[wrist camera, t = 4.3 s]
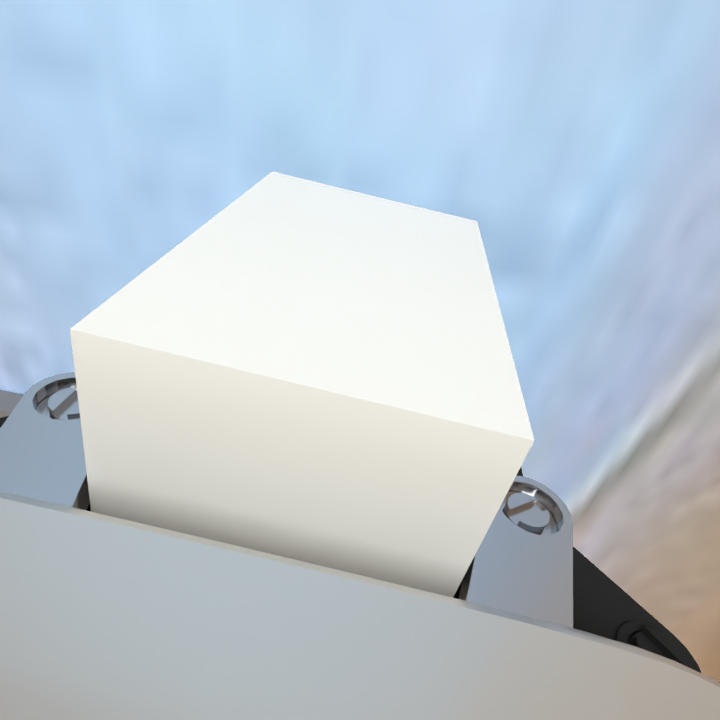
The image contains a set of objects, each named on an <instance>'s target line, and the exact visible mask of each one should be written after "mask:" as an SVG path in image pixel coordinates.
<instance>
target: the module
mask: <svg viewBox="0 0 720 720" xmlns="http://www.w3.org/2000/svg"><path fill="white" fill-rule="evenodd" d="M70 334H71V342H72V351H73V360H74V368H75V377H76V386H77V394H78V403H79V412H80V420H81V429H82V438H83V446H84V455H85V463H86V472H87V481H88V489H89V498H90V507H91V512H95V513H99V514H104V515H108V516H112V517H117V518H121V519H125V520H130V521H134V522H138V523H143V524H147V525H151V526H155V527H160V528H164V529H168V530H173V531H177V532H181V533H185V534H190V535H194V536H198V537H202V538H206V539H211V540H215V541H219V542H223V543H228V544H232V545H236V546H240V547H245V548H249V549H253V550H257V551H261V552H266V553H270V554H274V555H278V556H282V557H287V558H291V559H295V560H299V561H303V562H308V563H312V564H316V565H320V566H324V567H328V568H333V569H337V570H341V571H345V572H349V573H354V574H358V575H362V576H366V577H370V578H374V579H378V580H382V581H386V582H391V583H395V584H399V585H403V586H407V587H411V588H415V589H419V590H423V591H427V592H432V593H436V594H440V595H444V596H448V597H452V598H453V597H454V595H455V593H456V591H457V589H458V587H459V585H460V583H461V581H462V579H463V577H464V575H465V574H466V572H467V570H468V568H469V566H470V564H471V562H472V560H473V558H474V556H475V554H476V552H477V550H478V548H479V547H480V545H481V543H482V541H483V539H484V537H485V535H486V533H487V531H488V529H489V527H490V525H491V523H492V521H493V520H494V518H495V516H496V514H497V512H498V510H499V508H500V506H501V504H502V502H503V500H504V498H505V496H506V494H507V493H508V491H509V489H510V487H511V485H512V483H513V481H514V479H515V477H516V475H517V473H518V471H519V469H520V467H521V466H522V464H523V462H524V460H525V458H526V456H527V454H528V452H529V450H530V448H531V446H532V444H533V442H534V437H533V433H532V430H531V426H530V422H529V418H528V414H527V411H526V407H525V403H524V399H523V395H522V391H521V388H520V384H519V380H518V376H517V372H516V368H515V365H514V361H513V357H512V353H511V349H510V345H509V342H508V338H507V334H506V330H505V326H504V322H503V319H502V315H501V311H500V307H499V303H498V299H497V296H496V292H495V288H494V284H493V280H492V277H491V273H490V269H489V265H488V261H487V257H486V254H485V250H484V246H483V242H482V238H481V234H480V231H479V227H478V223H477V221H474V220H470V219H466V218H461V217H457V216H453V215H449V214H445V213H441V212H437V211H433V210H429V209H425V208H420V207H416V206H412V205H408V204H404V203H400V202H396V201H392V200H388V199H383V198H379V197H375V196H371V195H367V194H363V193H359V192H355V191H351V190H346V189H342V188H338V187H334V186H330V185H326V184H322V183H318V182H314V181H309V180H305V179H301V178H297V177H293V176H289V175H285V174H281V173H277V172H271V173H270V174H268V175H267V176H266V177H264V178H263V179H262V180H261V181H259V182H258V183H257V184H255V185H254V186H253V187H252V188H250V189H249V190H248V191H246V192H245V193H244V194H243V195H241V196H240V197H239V198H237V199H236V200H235V201H234V202H232V203H231V204H230V205H228V206H227V207H226V208H225V209H223V210H222V211H221V212H219V213H218V214H217V215H216V216H214V217H213V218H212V219H210V220H209V221H208V222H207V223H205V224H204V225H203V226H202V227H200V228H199V229H198V230H196V231H195V232H194V233H193V234H191V235H190V236H189V237H187V238H186V239H185V240H184V241H182V242H181V243H180V244H178V245H177V246H176V247H175V248H173V249H172V250H171V251H169V252H168V253H167V254H166V255H164V256H163V257H162V258H160V259H159V260H158V261H157V262H155V263H154V264H153V265H151V266H150V267H149V268H148V269H146V270H145V271H144V272H143V273H141V274H140V275H139V276H137V277H136V278H135V279H134V280H132V281H131V282H130V283H128V284H127V285H126V286H125V287H123V288H122V289H121V290H119V291H118V292H117V293H116V294H114V295H113V296H112V297H110V298H109V299H108V300H107V301H105V302H104V303H103V304H101V305H100V306H99V307H98V308H96V309H95V310H94V311H92V312H91V313H90V314H89V315H87V316H86V317H85V318H83V319H82V320H81V321H80V322H78V323H77V324H76V325H75V326H73V327H72V328H71V329H70Z"/></svg>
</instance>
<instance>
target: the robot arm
mask: <svg viewBox="0 0 720 720" xmlns="http://www.w3.org/2000/svg"><path fill="white" fill-rule="evenodd" d="M0 720H720V682H719V681H717V680H715V679H712V678H710V677H708V676H706V675H704V674H702V673H701V671H700V669H699V666H698V664H697V663H696V661H695V660H694V658H693V657H692V655H691V654H690V652H689V651H688V650H687V648H686V647H685V646H684V645H683V644H682V643H681V642H680V641H679V640H678V639H677V638H676V637H675V636H674V635H673V634H672V633H671V632H670V631H669V630H667V629H666V628H665V627H664V626H663V625H662V624H661V623H659V622H658V621H657V620H656V619H655V618H654V617H653V616H652V615H650V614H649V613H648V612H647V611H646V610H645V609H644V608H642V607H641V606H640V605H639V604H638V603H637V602H636V601H634V600H633V599H632V598H631V597H630V596H629V595H628V594H627V593H625V592H624V591H623V590H622V589H621V588H620V587H619V586H617V585H616V584H615V583H614V582H613V581H612V580H611V579H609V578H608V577H607V576H606V575H605V574H604V573H603V572H602V571H600V570H599V569H598V568H597V567H596V566H595V565H594V564H592V563H591V562H590V561H589V560H588V559H587V558H586V557H584V556H583V555H582V554H581V553H580V552H579V551H578V550H576V549H575V548H574V547H573V523H572V519H571V514H570V512H569V510H568V509H567V507H566V505H565V504H564V502H563V501H562V500H561V499H560V498H559V497H558V496H557V495H556V494H555V493H554V492H553V491H551V490H550V489H549V488H547V487H546V486H545V485H543V484H541V483H539V482H537V481H535V480H533V479H529V478H526V477H523V474H522V469H521V467H520V469H519V471H518V473H517V475H516V477H515V479H514V481H513V483H512V485H511V487H510V489H509V491H508V493H507V494H506V496H505V498H504V500H503V502H502V504H501V506H500V508H499V510H498V512H497V514H496V516H495V518H494V520H493V521H492V523H491V525H490V527H489V529H488V531H487V533H486V535H485V537H484V539H483V541H482V543H481V545H480V547H479V548H478V550H477V552H476V554H475V556H474V558H473V560H472V562H471V564H470V566H469V568H468V570H467V572H466V574H465V575H464V577H463V579H462V581H461V583H460V585H459V587H458V589H457V591H456V593H455V595H454V597H453V598H452V597H448V596H444V595H440V594H436V593H432V592H427V591H423V590H419V589H415V588H411V587H407V586H403V585H399V584H395V583H391V582H386V581H382V580H378V579H374V578H370V577H366V576H362V575H358V574H354V573H349V572H345V571H341V570H337V569H333V568H328V567H324V566H320V565H316V564H312V563H308V562H303V561H299V560H295V559H291V558H287V557H282V556H278V555H274V554H270V553H266V552H261V551H257V550H253V549H249V548H245V547H240V546H236V545H232V544H228V543H223V542H219V541H215V540H211V539H206V538H202V537H198V536H194V535H190V534H185V533H181V532H177V531H173V530H168V529H164V528H160V527H155V526H151V525H147V524H143V523H138V522H134V521H130V520H125V519H121V518H117V517H112V516H108V515H104V514H99V513H95V512H91V507H90V498H89V489H88V481H87V472H86V463H85V455H84V446H83V438H82V429H81V420H80V412H79V403H78V394H77V386H76V377H75V372H72V373H66V374H59V375H55V376H52V377H49V378H46V379H44V380H42V381H40V382H38V383H36V384H35V385H33V386H32V387H31V388H30V389H29V390H28V391H27V392H26V393H25V394H24V395H23V397H22V398H21V399H20V401H19V402H18V404H17V405H16V407H15V408H14V409H13V411H12V412H11V414H10V415H9V416H6V417H2V418H0Z"/></svg>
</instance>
